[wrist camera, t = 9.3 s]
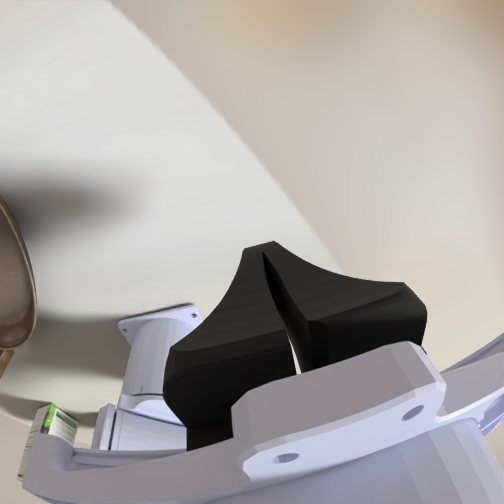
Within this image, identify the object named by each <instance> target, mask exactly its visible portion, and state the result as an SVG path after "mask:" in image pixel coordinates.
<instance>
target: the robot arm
mask: <svg viewBox="0 0 504 504" xmlns="http://www.w3.org/2000/svg"><path fill="white" fill-rule="evenodd" d="M192 314H196V315H192ZM426 323H427V310H426V306H425V305H424V304H423V302H422V301H421V300H420V299H419V298H418V297H417V295H416V294H415V293H414V292H413V291H412V290H411V289H410V288H409V287H408V286H407V285H406V284H405V283H403V282H380V281H371V280H363V279H358V278H352V277H348V276H344V275H340V274H337V273H333V272H330V271H328V270H325V269H322V268H320V267H317V266H315V265H313V264H311V263H309V262H307V261H305V260H303V259H301V258H299V257H298V256H296V255H294V254H293V253H291V252H290V251H288V250H287V249H285V248H284V247H282V246H281V245H280V244H278V243H277V242H275V241H272V242H268V243H264V244H260V245H256V246H252V247H249V248H245V249H244V250H243V252H242V258H241V261H240V264H239V267H238V270H237V272H236V275H235V277H234V279H233V281H232V283H231V285H230V287H229V289H228V291H227V292H226V294H225V296H224V297H223V299H222V300H221V302H220V303H219V304H218V305H217V307H216V308H215V309H214V310H213V311H212V312H211V314H210V315H209V316H208V317H207V318H206V319H205V320H204V321H203V319H202V317H201V315H200V312H199V310H198V308H197V306H195V305H187V306H183V307H178V308H174V309H170V310H165V311H161V312H156V313H152V314H147V315H143V316H138V317H134V318H129V319H124V320H120V321H119V322H118V328H119V329H120V331H121V332H122V334H123V336H124V337H125V339H126V340H127V342H128V343H129V345H130V346H131V351H130V355H129V359H128V363H127V367H126V372H125V376H124V381H123V385H122V390H121V394H120V397H119V401H118V405H117V409H115V405H113V404H110V403H108V404H107V405H106V406H104V407H102V408H100V410H99V413H98V417H97V421H96V426H95V430H94V435H93V441H92V446H91V449H83V448H74V447H73V446H72V445H71V444H70V443H69V442H67V441H66V440H65V439H63V438H61V437H59V436H56V435H50V434H42V433H35V436H34V440H33V443H32V447H31V450H30V454H29V458H28V462H27V466H26V470H25V474H24V478H23V483H22V487H23V489H25V490H26V491H28V492H30V493H31V494H33V495H35V496H37V497H39V498H41V499H42V500H44V501H46V502H48V503H50V504H504V472H503V470H502V469H501V467H500V465H499V463H498V461H497V459H496V457H495V456H494V454H493V452H492V450H491V448H490V447H489V445H488V443H487V442H486V440H485V438H484V437H485V436H486V435H487V434H489V433H490V432H491V431H492V430H493V429H495V428H496V427H497V426H498V425H499V424H500V423H502V422H503V421H504V333H503V334H501V335H500V336H498V337H497V338H495V339H494V340H493V341H491V342H490V343H488V344H487V345H485V346H484V347H482V348H481V349H479V350H478V351H476V352H474V353H473V354H471V355H469V356H468V357H466V358H465V359H463V360H462V361H460V362H458V363H456V364H455V365H453V366H451V367H449V368H447V369H446V370H444V371H442V372H440V373H439V372H438V371H437V369H436V368H435V366H434V365H433V364H432V362H431V361H430V359H429V358H428V357H427V353H426V352H425V350H424V349H423V348H422V346H421V344H422V340H423V336H424V332H425V328H426ZM124 328H125V329H127V330H125V329H124ZM287 334H288V335H287ZM288 337H289V338H288ZM289 339H290V341H291V343H292V346H293V348H294V351H295V354H296V357H297V360H298V364H299V367H300V370H301V373H302V374H298V375H297V373H296V368H295V363H294V358H293V353H292V348H291V344H290V341H289Z"/></svg>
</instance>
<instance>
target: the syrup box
mask: <svg viewBox="0 0 504 504" xmlns="http://www.w3.org/2000/svg"><path fill="white" fill-rule="evenodd" d="M78 425H79V422H78V421H76V420H74V419H72V418H71V417H70V416H68V415H67V414H65V413H64V412H63V411H61V410H60V409H58V408H57V407H56V406H55V405H53V404H49V405H46V406H44V407H41V408H39V409H38V410H37V412H36V415H35V418H34V421H33V424H32V427H31V430H30V434H29V436H28V440H27V443H26V447H25V450H24V453H23V457H22V461H21V464H20V468H19V472H18V476H17V480H18V481H20V482H22V483H23V478H24V474H25V470H26V466H27V462H28V458H29V454H30V450H31V447H32V443H33V440H34V436H35V433H42V434H50V435H56V436H59V437H61V438H63V439H65V440H66V441H67V442H69V443H70V444H71V445H72V446H73V443H74V439H75V435H76V432H77V428H78Z"/></svg>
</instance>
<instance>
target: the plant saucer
mask: <svg viewBox="0 0 504 504" xmlns="http://www.w3.org/2000/svg"><path fill="white" fill-rule="evenodd" d="M36 316H37V298H36V288H35V281H34V275H33V270H32V266H31V262H30V259H29V255H28V252H27V249H26V246H25V243H24V241H23V238H22V236H21V233H20V231H19V229H18V227H17V224H16V223H15V221H14V219H13V217H12V215H11V213H10V211H9V210H8V208H7V207H6V205H5V203H4V202H3V201H2V199H1V198H0V349H6V350H11V349H16V348H19V347H21V346H23V345H24V344H26V343H27V342H28V340H29V339H30V338H31V336H32V334H33V332H34V329H35V324H36Z"/></svg>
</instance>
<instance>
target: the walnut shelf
mask: <svg viewBox="0 0 504 504" xmlns="http://www.w3.org/2000/svg"><path fill="white" fill-rule="evenodd" d="M13 354H14V351H13V350H12V349H11V350H6V349H0V378H1V376H2V374H3V373H4V371H5V369H6V367H7V365H8V363H9V361H10V359H11V357H12V356H13Z"/></svg>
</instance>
